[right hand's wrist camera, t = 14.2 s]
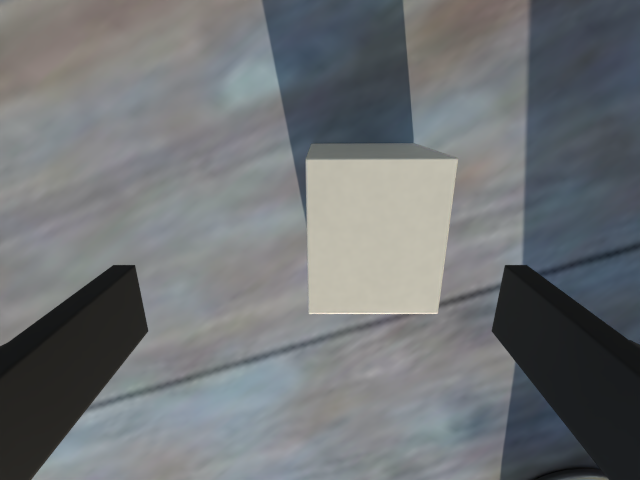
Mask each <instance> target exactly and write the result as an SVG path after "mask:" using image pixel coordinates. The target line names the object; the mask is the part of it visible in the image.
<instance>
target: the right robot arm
mask: <svg viewBox="0 0 640 480" xmlns="http://www.w3.org/2000/svg"><path fill="white" fill-rule="evenodd" d="M147 332H148V327H147V322H146V318H145V313H144V308H143V303H142V298H141V293H140V288H139V283H138V278H137V273H136V268H135V265H113V266H112V267H110V268H109V269H108V270H106V271H105V272H103V273H102V274H101V275H99V276H98V277H97V278H95V279H94V280H93V281H91V282H90V283H88V284H87V285H86V286H84V287H83V288H82V289H80V290H79V291H78V292H76V293H75V294H73V295H72V296H71V297H69V298H68V299H67V300H65V301H64V302H63V303H61V304H60V305H59V306H57V307H56V308H54V309H53V310H52V311H50V312H49V313H48V314H46V315H45V316H44V317H42V318H41V319H39V320H38V321H37V322H35V323H34V324H33V325H31V326H30V327H29V328H27V329H26V330H24V331H23V332H22V333H20V334H19V335H18V336H16V337H15V338H14V339H12V340H11V341H9V342H8V343H6V344H4V345H2V346H0V480H31V479H32V478H33V477H34V475H35V474H36V473H37V472H38V470H39V469H40V468H41V466H42V465H43V464H44V463H45V461H46V460H47V459H48V458H49V456H50V455H51V454H52V453H53V451H54V450H55V449H56V447H57V446H58V445H59V444H60V442H61V441H62V440H63V439H64V437H65V436H66V435H67V434H68V432H69V431H70V430H71V428H72V427H73V426H74V425H75V423H76V422H77V421H78V420H79V418H80V417H81V416H82V414H83V413H84V412H85V411H86V409H87V408H88V407H89V406H90V404H91V403H92V402H93V401H94V399H95V398H96V397H97V395H98V394H99V393H100V392H101V390H102V389H103V388H104V387H105V385H106V384H107V383H108V382H109V380H110V379H111V378H112V376H113V375H114V374H115V373H116V371H117V370H118V369H119V368H120V366H121V365H122V364H123V363H124V361H125V360H126V359H127V357H128V356H129V355H130V354H131V352H132V351H133V350H134V349H135V347H136V346H137V345H138V344H139V342H140V341H141V340H142V338H143V337H144V336H145V335H146V333H147ZM492 332H493V333H494V335H495V336H496V337H497V338H498V340H499V341H500V342H501V344H502V345H503V346H504V347H505V349H506V350H507V351H508V352H509V354H510V355H511V356H512V357H513V359H514V360H515V361H516V363H517V364H518V365H519V366H520V368H521V369H522V370H523V371H524V373H525V374H526V375H527V376H528V378H529V379H530V380H531V382H532V383H533V384H534V385H535V387H536V388H537V389H538V390H539V392H540V393H541V394H542V395H543V397H544V398H545V399H546V401H547V402H548V403H549V404H550V406H551V407H552V408H553V409H554V411H555V412H556V413H557V414H558V416H559V417H560V418H561V420H562V421H563V422H564V423H565V425H566V426H567V427H568V428H569V430H570V431H571V432H572V434H573V435H574V436H575V437H576V439H577V440H578V441H579V442H580V444H581V445H582V446H583V447H584V449H585V450H586V451H587V453H588V454H589V455H590V456H591V458H592V459H593V460H594V461H595V463H596V464H597V465H598V466H599V468H600V469H601V470H602V472H603V473H604V474H605V475H606V477H607V478H608V479H609V480H640V345H639V344H637V343H635V342H633V341H631V340H628V339H626V338H625V337H624V336H622V335H621V334H620V333H618V332H617V331H616V330H614V329H613V328H611V327H610V326H609V325H607V324H606V323H605V322H603V321H602V320H601V319H599V318H598V317H596V316H595V315H594V314H592V313H591V312H590V311H588V310H587V309H586V308H584V307H583V306H581V305H580V304H579V303H577V302H576V301H575V300H573V299H572V298H571V297H569V296H568V295H567V294H565V293H564V292H562V291H561V290H560V289H558V288H557V287H556V286H554V285H553V284H552V283H550V282H549V281H547V280H546V279H545V278H543V277H542V276H541V275H539V274H538V273H537V272H535V271H534V270H532V269H531V268H530V267H528V266H527V265H505V268H504V273H503V278H502V283H501V288H500V293H499V298H498V303H497V308H496V313H495V318H494V322H493V327H492Z"/></svg>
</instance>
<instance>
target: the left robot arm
mask: <svg viewBox="0 0 640 480" xmlns="http://www.w3.org/2000/svg"><path fill="white" fill-rule="evenodd" d="M536 480H609V479H608V478H607V477H606V475H605V474H604V473H603V472H602V470H598V469H586V468H583V469H570V470H563V471H559V472H555V473H552V474H548V475H546V476H543V477H541V478H538V479H536Z"/></svg>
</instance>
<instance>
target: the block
mask: <svg viewBox="0 0 640 480" xmlns="http://www.w3.org/2000/svg"><path fill="white" fill-rule="evenodd" d="M305 161H306V215H307V268H308V313H309V314H437V313H438V308H439V300H440V293H441V285H442V277H443V270H444V262H445V255H446V247H447V239H448V232H449V224H450V216H451V209H452V201H453V193H454V186H455V178H456V170H457V163H458V158H456V157H453V156H450V155H447V154H444V153H441V152H438V151H435V150H432V149H429V148H426V147H423V146H420V145H417V144H414V143H353V144H311V146H310V149H309V151H308V154H307V157H306V160H305Z"/></svg>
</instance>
